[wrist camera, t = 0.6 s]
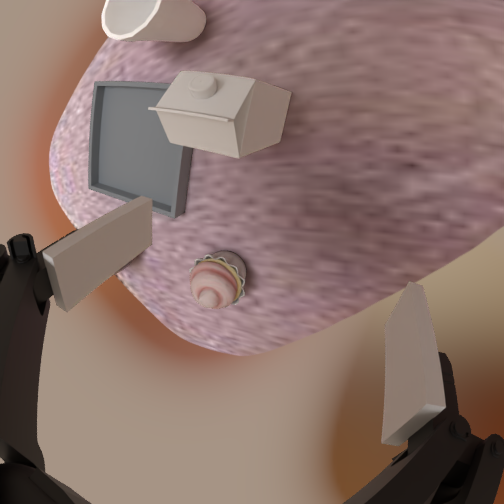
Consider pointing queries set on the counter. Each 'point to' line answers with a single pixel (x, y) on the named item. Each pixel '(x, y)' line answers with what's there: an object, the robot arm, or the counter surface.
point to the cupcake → (218, 280)
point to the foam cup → (153, 20)
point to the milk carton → (223, 113)
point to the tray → (135, 147)
